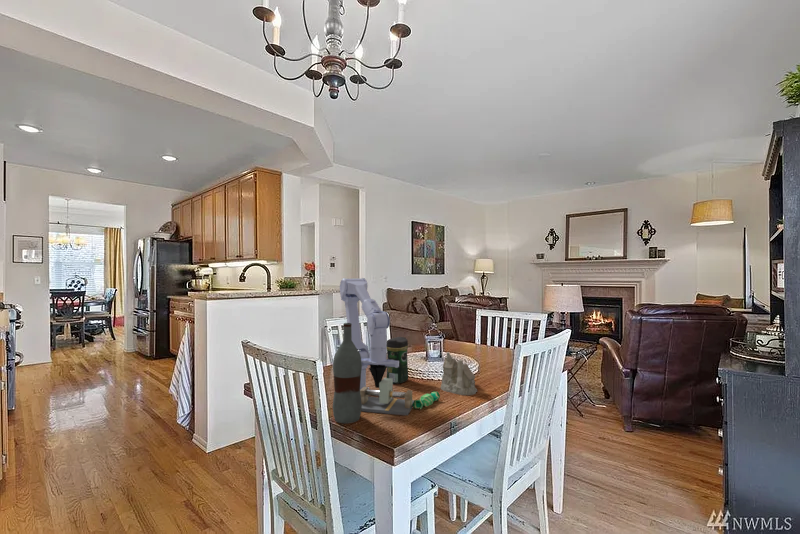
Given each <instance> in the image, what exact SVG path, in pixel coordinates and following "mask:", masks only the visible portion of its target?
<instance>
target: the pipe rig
mask: <svg viewBox="0 0 800 534" xmlns="http://www.w3.org/2000/svg"><path fill="white" fill-rule="evenodd" d="M368 387H369V386H366V387H363V388H362V389H361V390H360V394H361V402H362V408H361V412H364V413H373V414H375V413H376V414H388V415H396V416H397V415H398V416H406V415H407V416H409V414H410V412H411V411H412V409H414V407H413V405H412V404H413V402H414V400H415V399H413V390H411V389H407V390H406V392H402V391H389V397H393V398H392V399H391V400H390V402H389V403H388V404H384V403H379V389H368Z"/></svg>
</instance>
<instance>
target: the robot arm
mask: <svg viewBox="0 0 800 534" xmlns="http://www.w3.org/2000/svg"><path fill="white" fill-rule="evenodd" d="M368 286H369V284H368V282H367V279H366V278H364V277H361V278H360V277H359V278H346V277H343V278H341V280H340V284H339V295H340V300H341V301H343V302H344V306H345V316H346V323H351V324H352V325H351V335H352V342H353V343H354V345H355V347H356V348H357V350H358V351H359V353H360V356H361V362H362V369H361V381H360V390H361V389H362V388H363V387H368V390H370V387H369V386H367V369H369V372H370V374H371V376H372V378H373V382H374V386H375V388H376V389H379V383H380V382H381V381H382V380H383V379H384V378H383V377H384V374H385V372H386V371H387V366H388V367H395V368H398V367H399V361H396V360H389V359H387V348H386V347H387V346H386V345H387V333H388V332H387V329H388V328H390V323H391V321H390V315H389V314H388V312H387V311H384V310H382V309H381V307H380V306H379V304H378V302H377V301H376V300H375V299H373V298H371V295H370V294H369V292H368ZM359 302H361V310H362V312H363V313H364V315H365V317H366V319H367V320H366V325H367V328H368V335H369V346H368V345H367V344H366V343H364V342H363V341H362V332H361V325H360V316H359V307H358V303H359ZM368 367H369V368H368Z"/></svg>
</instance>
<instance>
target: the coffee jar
mask: <svg viewBox="0 0 800 534" xmlns="http://www.w3.org/2000/svg"><path fill="white" fill-rule="evenodd" d="M408 342H409V341H408V338H406V337H404V336H396V337H393V338H389V339H388V340H387V339H386V359H389V360H396V361H399V367H398V368H395V367H388V366H387V368H386V378H393V385H394V384H403V383H405V382H407V381H408V379H409V367H408V363H409V362H408V351H409V350H408V349H409V348H408V347H409V343H408Z"/></svg>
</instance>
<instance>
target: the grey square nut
mask: <svg viewBox="0 0 800 534" xmlns="http://www.w3.org/2000/svg"><path fill="white" fill-rule="evenodd" d="M393 385H394V384H393V378H387V377H384V378H382V381H381V382H380V383H379V388H378V390H379V396H378V397H379V403H384V404H388V403H389V402H390V400H391V399H392V398H393V399H394V397H389V391H393V389H394V388H393ZM393 392H394V391H393Z"/></svg>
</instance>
